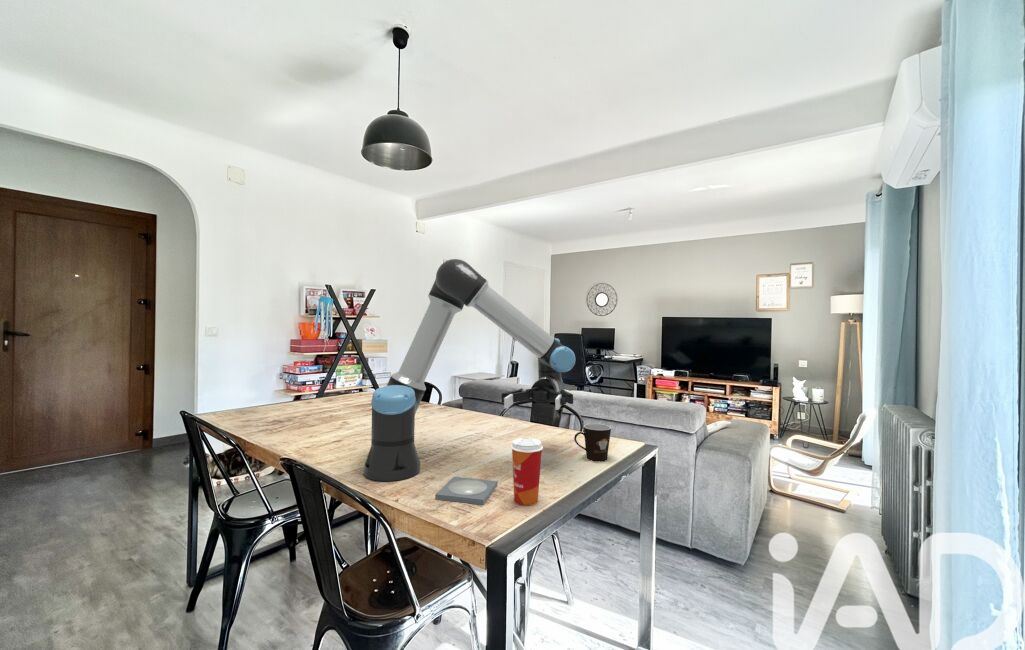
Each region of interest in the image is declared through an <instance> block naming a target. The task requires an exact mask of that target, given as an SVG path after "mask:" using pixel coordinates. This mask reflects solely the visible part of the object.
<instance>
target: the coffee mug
mask: <svg viewBox="0 0 1025 650" xmlns="http://www.w3.org/2000/svg"><path fill="white" fill-rule="evenodd" d="M611 433H612V427H611V426H610V425H606V424H602V423H587V424H586V423H585V424H584V425H583V432H582V431H579V432H576V434H574V438H573V439H574V440H573V441H574V442H575V444H576V445H577V446H578V447H579V448H581V449H583V450H584V451H585V455H586V456H585V457H586V459H587V460H588V461H590V460H592V461H591V462H595V461H603V462H606V461H607V460H608V455H609V454H608V453H609V447H610V439H611ZM579 435H583V436H584V446H585V447H584V446H582V445H581V444H580V443H579V442H578V440H577V438H578V436H579ZM605 460H606V461H605Z"/></svg>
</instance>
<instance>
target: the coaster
mask: <svg viewBox="0 0 1025 650" xmlns="http://www.w3.org/2000/svg"><path fill="white" fill-rule="evenodd" d="M497 486H498V480H489V479H482V478H479V479H478V478H471V477H462V476H453V477H451V479H449V480H448V481H447V483H445V485H443V486H442V487H441V488H440V489H439V490H438V491H437V492H436V493H435V494H434V496H435V497H434V499H435V500H438V501H447V502H456V503H463V504H472V505H480V506H481V505H482V506H484V505H485V504H486V502H487V501H488V499H489V498H490V497H491V495H492V493H494V492H495V489H496V488H497Z"/></svg>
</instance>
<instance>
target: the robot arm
mask: <svg viewBox="0 0 1025 650" xmlns="http://www.w3.org/2000/svg"><path fill="white" fill-rule="evenodd" d="M427 297H428V299H429V304H428V306H427V309H426V311H425V313H424V316H423V317H422V319H421V322H420V324H419V326H418V328H417V330H416V333H415V335H414V337H413V339H412V341H411V343H410V346H409V348H408V350H407V351H406V354H405V357H404V358H403V359H404V360H402V363H401V366H400V367H399V370H398V371H397V372H395V373H393V374H391V376H390V378H389V380H388V382H387V384H386V385H384V386H382V387H378V388H377V389H375V390H374V391H373V393H372V397H371V402H370V403H371V434H370V435H371V439H370V441H371V444H370V448H369V450H368V454H367V456H366V459H365V462H364V466H363V475H364V477H365V478H366V479H368V480H371V481H377V482H392V481H394V482H395V481H402V480H405V479H410V478H412V477H414V476H416V475H418V474H419V472H420V471H421V460H420V457H419V453H418V450H417V448H416V444H415V428H416V427H415V423H416V421H415V420H416V419H415V417H416V413H417V411H418V408H419V406H420V403H421V401H422V399H423V397H424V395H425V393H426V390H427V387H426V385H425V381H426V379H427V376H428V374H429V372H430V370H431V367H432V365H433V363H434V361H435V359H436V356H437V355H438V352H439V350H440V348H441V346H442V343H443V341H444V338H445V336H446V335H447V332H448V330H449V328H450V326H451V324H452V321H453V319H454V317H455V315H456V314H457V313H460V312H461V311H463V309H464V306H466V307H468V308H471V307H472V308H474V309H475V310H476V311H478V312H479V313H480V314H481V315H483V316H484V317H485V318H487V319H488V320H489V321H491V322H492V323H493V324H495V325H496V326H497V327H499V329H501V330H502V331H503V332H505V333H506V334H507V335H509V336H510V337H511V338H512V339H514V340H516V342H518V343H519V344H520V345H522V346H523V347H524V348H525V349H526V350H527V351H529V352H531V353H532V354H533V355H535V356H536V357H537V367H538V369H537V372H538V373H537V374H538V376H537V377H538V380H536V381H535V382H534V383H533V384H532V386H531V388H527V389H525V391H524V389H523V388H519V389H516V390H511V391H506V392H502V393H501V403H503V406H504V408H503V409H509V408H510V407H511V406H513V405H514V403H518V402H519V403H520V402H524V401H525V402H535V403H537V404H538V405H542V406H543V405H544V406H545V405H549V404H550V403H553V402H554V403H555V404H554V405H555V410H556V411H557V410H560V409H561V407H562V405H563V406H564V405H566V404H569V405H573V404H574V394H573V393H572V392H569V391H566V390H565V389H564V388H563V387H564V385H563V384H564V380H563V379H562V373H567V372H569V371H571V370H572V369H573V368H574V366H575V365H576V359H577V358H576V355H575V352H574V351H573V349H571V348H570V347H568V346H565V345H563V344H562V343H561V340H560V339H559V338H556V337H553V336H552V335H551V334H549V333H548V332H547V331H546V330H544V329H543V328H542V327H541V326H539V325H538V324H536V323H535V321H533V320H532V319H530V318H529V316H527V315H526V314H524V313H523V312H522V311H520V310H519V309H518V308H517V307H515V306H514V304H512V303H511V302H510V301H508V300H507V299H505V298H504V297H503V296H502V295H500V294H499V293H498V292H497V291H495V290H494V289H493V288H491V287H490V286H489V280H487V279H486V278H485V277H484V276H482V275H481V274H480V273H479V272H478V271H477V270H476V269H474V267H472V266H471V265H470V264H469V263H468V262H466V261H465V260H462V259H458V258H454V259H453V258H451V259H447V260H446V261H444V262H443V263H441V264H440V266H439V267H438V269H437V271H436V274H435V280H434V281H433V284H432V286H431V288H430V291H429V292H428V296H427Z"/></svg>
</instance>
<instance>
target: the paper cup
mask: <svg viewBox="0 0 1025 650" xmlns="http://www.w3.org/2000/svg"><path fill="white" fill-rule="evenodd" d="M510 449H511V451H512V452H511V454H512V455H511V456H512V458H511V459H512V479H513V484H512V485H513V499H514V500H513V501H514V502H515V504H517V503H518V505H520V504H521V505H520V506H533V505H536V504H537V503H538V500H539V489H540V488H539V487H540V478H541V477H540V476H541V464H542V463H541V462H542V450H543V449H544V447H543V444H542V441H541V440H539V439H537V438H536V439H535V438H528V437H527V438H525V437H524V438H522V437H519V438H516V439H514V440H512V444H511V445H510ZM535 503H536V504H535ZM532 504H533V505H532Z"/></svg>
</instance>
